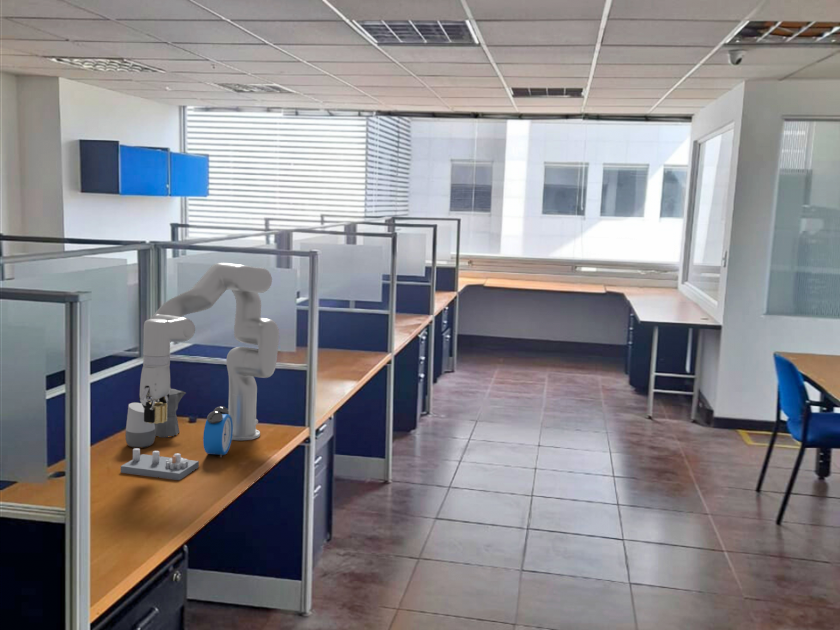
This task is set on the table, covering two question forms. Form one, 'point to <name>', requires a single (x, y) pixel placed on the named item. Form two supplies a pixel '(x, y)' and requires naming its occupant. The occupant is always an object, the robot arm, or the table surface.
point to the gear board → (159, 465)
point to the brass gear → (160, 412)
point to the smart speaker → (138, 428)
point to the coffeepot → (170, 415)
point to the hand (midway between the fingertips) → (155, 418)
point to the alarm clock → (218, 432)
